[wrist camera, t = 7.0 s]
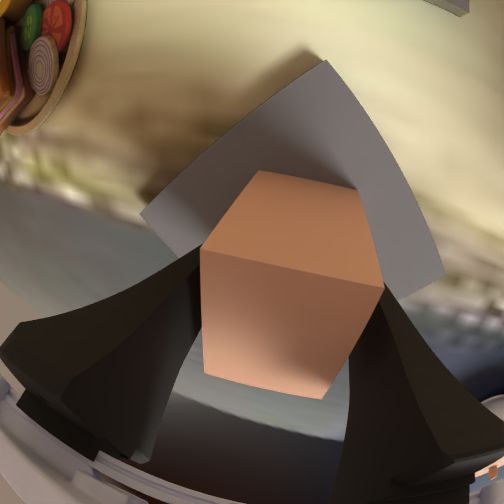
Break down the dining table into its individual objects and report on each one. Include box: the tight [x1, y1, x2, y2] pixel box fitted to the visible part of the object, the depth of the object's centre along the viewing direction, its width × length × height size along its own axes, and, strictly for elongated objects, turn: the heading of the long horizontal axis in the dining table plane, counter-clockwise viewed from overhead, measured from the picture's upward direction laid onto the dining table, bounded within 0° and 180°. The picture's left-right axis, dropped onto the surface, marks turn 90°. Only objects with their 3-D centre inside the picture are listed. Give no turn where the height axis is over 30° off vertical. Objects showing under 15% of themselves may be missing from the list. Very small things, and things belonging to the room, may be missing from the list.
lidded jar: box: [475, 395, 504, 480], centre depth 15 cm, size 11×11×9 cm
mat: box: [140, 60, 446, 300], centre depth 13 cm, size 11×11×1 cm
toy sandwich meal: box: [0, 0, 87, 136], centre depth 8 cm, size 12×14×5 cm
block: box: [200, 170, 385, 399], centre depth 10 cm, size 5×4×6 cm
